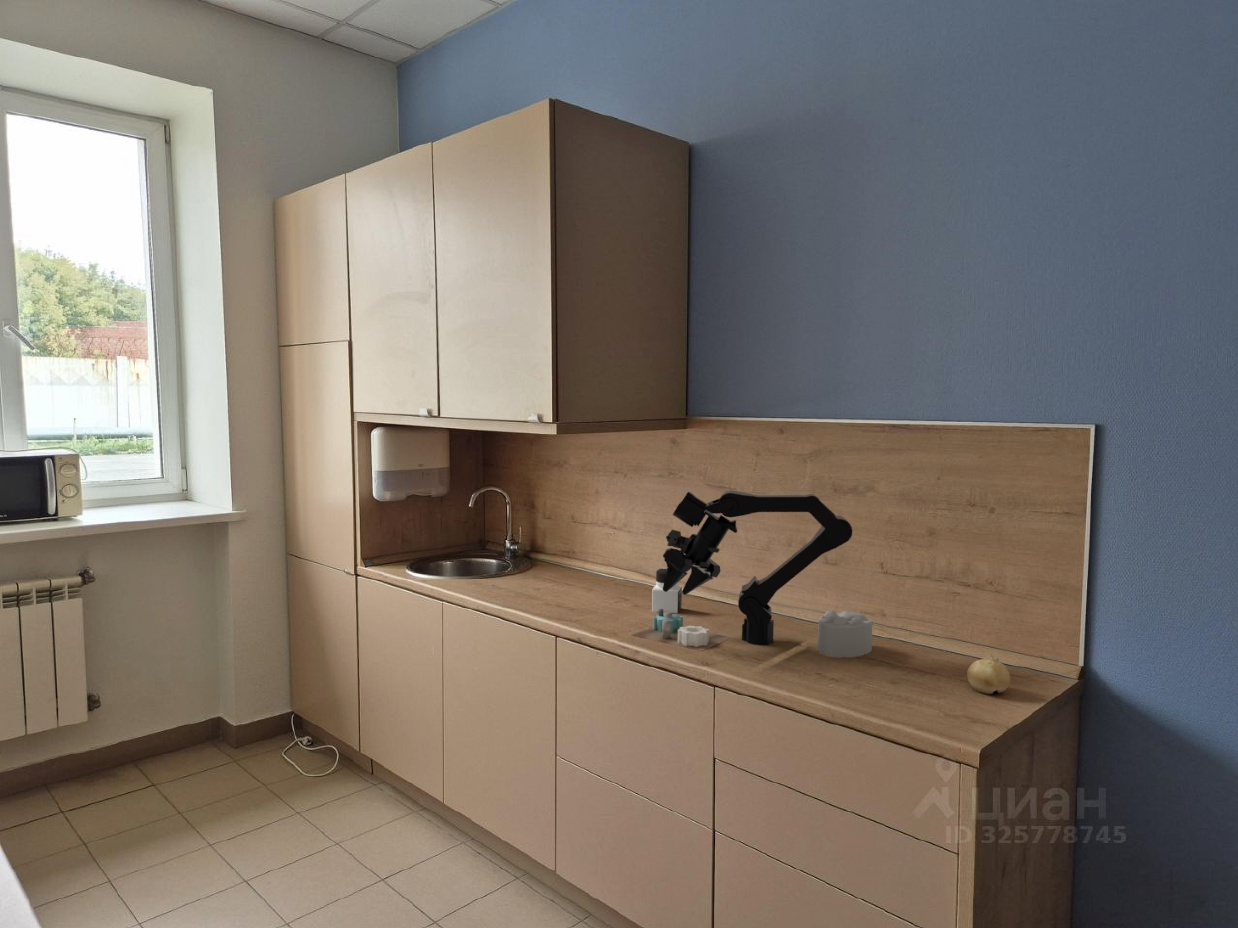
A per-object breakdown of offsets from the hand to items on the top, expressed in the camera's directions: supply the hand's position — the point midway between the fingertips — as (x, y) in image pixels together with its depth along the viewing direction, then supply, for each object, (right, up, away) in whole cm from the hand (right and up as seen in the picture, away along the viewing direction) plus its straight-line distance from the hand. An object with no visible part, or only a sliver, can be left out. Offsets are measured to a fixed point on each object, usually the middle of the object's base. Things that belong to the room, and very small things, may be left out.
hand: (674, 592), depth 203 cm
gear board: (+2, -12, +1) cm, 12 cm away
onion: (+61, -15, -32) cm, 71 cm away
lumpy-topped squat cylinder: (+39, -13, -5) cm, 41 cm away
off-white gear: (+4, -11, -4) cm, 13 cm away
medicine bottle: (0, -10, +28) cm, 29 cm away
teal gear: (-1, -10, +7) cm, 13 cm away
